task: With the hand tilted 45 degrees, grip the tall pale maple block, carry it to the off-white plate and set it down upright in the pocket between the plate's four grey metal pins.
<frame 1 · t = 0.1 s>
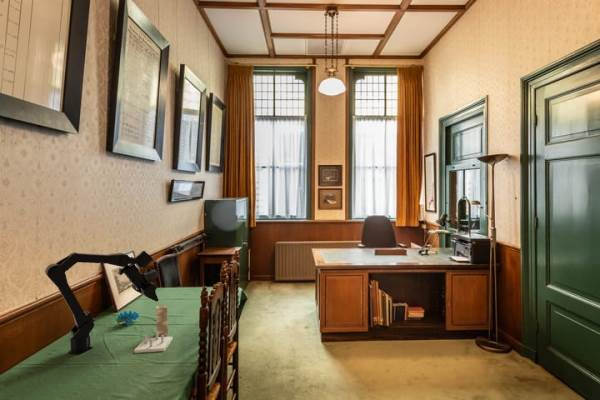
hand: (154, 299, 166), 15 cm above the table, tool tilted 35°, fingers open, 9 cm apart
maple block: (162, 334, 159), on the table
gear: (127, 324, 175), on the table
pin plate: (154, 345, 147), on the table
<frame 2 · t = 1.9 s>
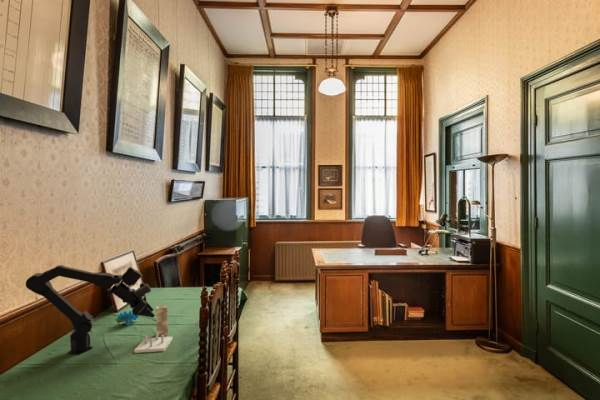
hand: (153, 313, 158), 10 cm above the table, tool tilted 45°, fingers open, 9 cm apart
nothing on the table moved.
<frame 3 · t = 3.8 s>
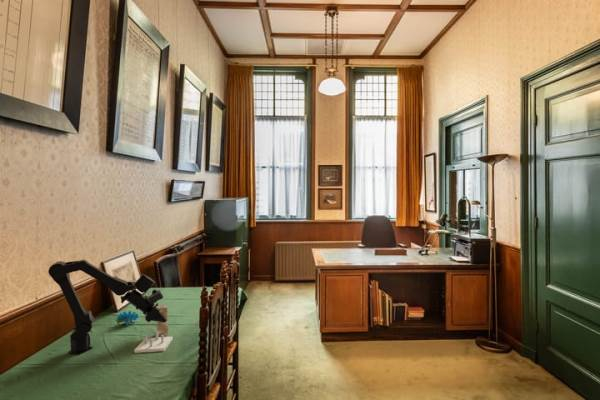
hand: (165, 319, 160), 7 cm above the table, tool tilted 45°, fingers closed on maple block, 4 cm apart
maple block: (162, 334, 159), on the table, touching gripper
everything else where it was.
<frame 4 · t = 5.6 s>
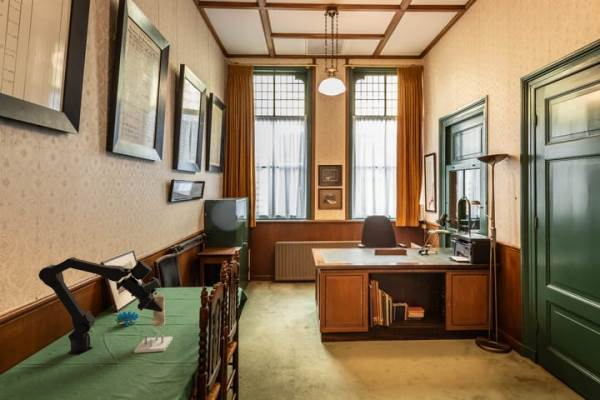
hand: (162, 309, 154), 13 cm above the table, tool tilted 45°, fingers closed on maple block, 4 cm apart
maple block: (159, 324, 154), point 7 cm above the table, touching gripper
everything else where it was.
when the fingers open (9 cm above the table, at t = 7.5 s): maple block drops 1 cm, resting on pin plate.
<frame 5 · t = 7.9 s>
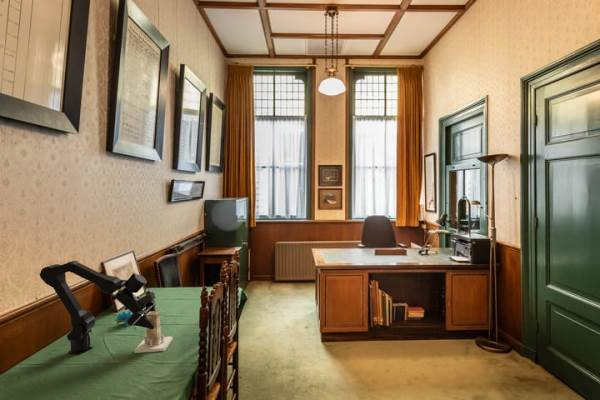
hand: (156, 324, 147), 9 cm above the table, tool tilted 45°, fingers open, 8 cm apart
maple block: (154, 342, 147), point 1 cm above the table, touching pin plate
everything else where it was.
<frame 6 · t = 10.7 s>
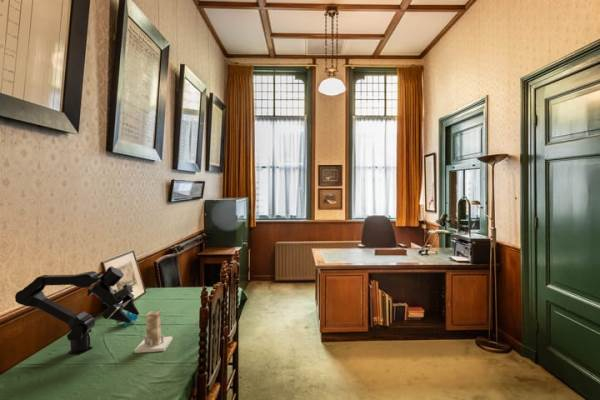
hand: (134, 318, 146), 12 cm above the table, tool tilted 45°, fingers open, 9 cm apart
nothing on the table moved.
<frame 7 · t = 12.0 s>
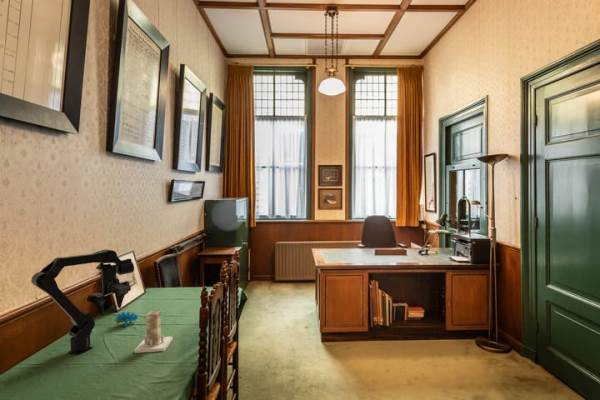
hand: (111, 311, 155), 13 cm above the table, tool pointing down, fingers open, 9 cm apart
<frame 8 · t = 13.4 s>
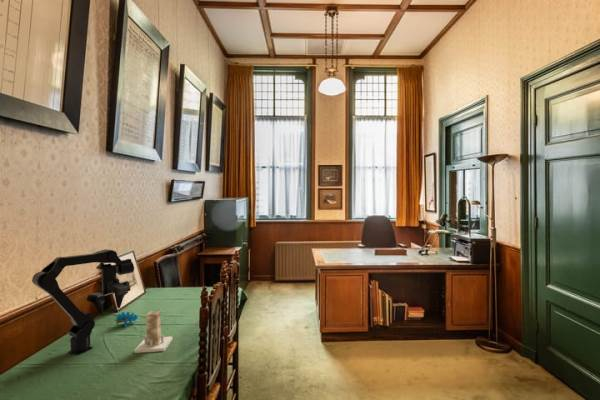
hand: (110, 311, 155), 13 cm above the table, tool pointing down, fingers open, 9 cm apart
at the end: maple block 0.1 cm off-centre on the pin plate, point 1.2 cm above the pin plate's base; maple block tilted 0°; the gripper is holding nothing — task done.
